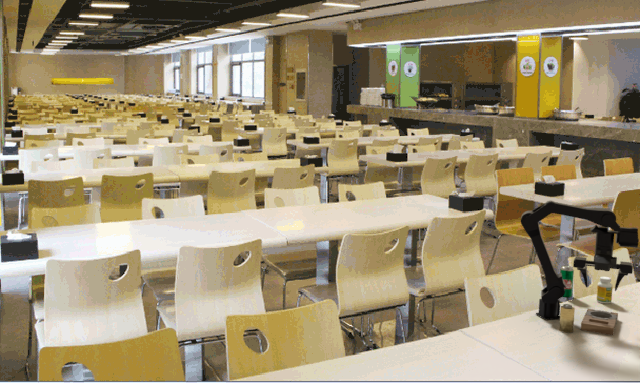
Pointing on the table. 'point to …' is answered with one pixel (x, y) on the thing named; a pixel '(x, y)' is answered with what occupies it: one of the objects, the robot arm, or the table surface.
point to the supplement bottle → (604, 290)
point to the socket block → (599, 321)
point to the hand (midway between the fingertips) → (600, 289)
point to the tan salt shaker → (567, 318)
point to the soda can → (567, 280)
